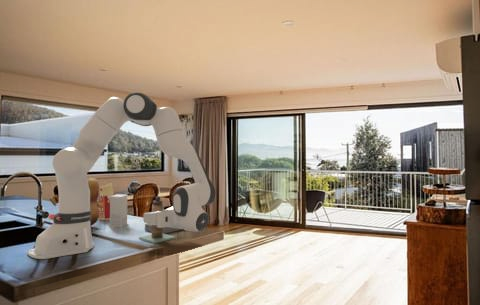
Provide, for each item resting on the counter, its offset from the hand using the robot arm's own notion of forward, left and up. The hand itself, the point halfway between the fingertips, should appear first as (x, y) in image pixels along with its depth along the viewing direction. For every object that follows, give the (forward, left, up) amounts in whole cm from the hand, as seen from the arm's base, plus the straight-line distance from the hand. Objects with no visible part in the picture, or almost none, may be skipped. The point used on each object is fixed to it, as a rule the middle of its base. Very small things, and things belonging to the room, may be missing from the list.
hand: (156, 213), depth 150 cm
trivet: (0, -1, -11) cm, 11 cm away
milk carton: (+10, +60, -11) cm, 62 cm away
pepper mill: (0, -1, -10) cm, 10 cm away
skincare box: (+4, +37, -11) cm, 39 cm away
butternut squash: (-10, +45, -11) cm, 47 cm away
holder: (+14, +11, -11) cm, 21 cm away
